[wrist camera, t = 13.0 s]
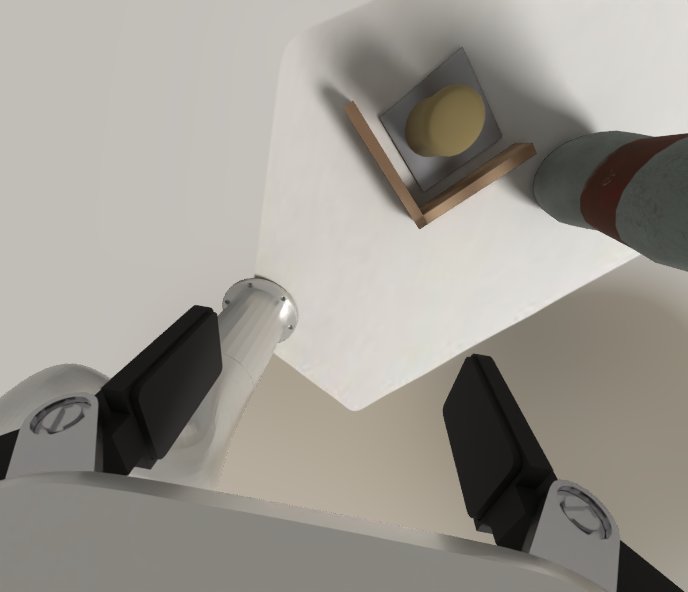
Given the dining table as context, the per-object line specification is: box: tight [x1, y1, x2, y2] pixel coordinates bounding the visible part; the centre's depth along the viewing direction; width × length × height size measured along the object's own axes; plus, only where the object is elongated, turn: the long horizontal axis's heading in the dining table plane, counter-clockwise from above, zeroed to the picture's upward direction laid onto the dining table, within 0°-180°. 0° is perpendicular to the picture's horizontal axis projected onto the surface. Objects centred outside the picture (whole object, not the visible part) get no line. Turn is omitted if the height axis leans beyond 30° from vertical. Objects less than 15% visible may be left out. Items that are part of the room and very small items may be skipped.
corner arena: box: [344, 47, 537, 229], centre depth 30 cm, size 14×15×4 cm
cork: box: [405, 84, 485, 157], centre depth 27 cm, size 6×6×11 cm
